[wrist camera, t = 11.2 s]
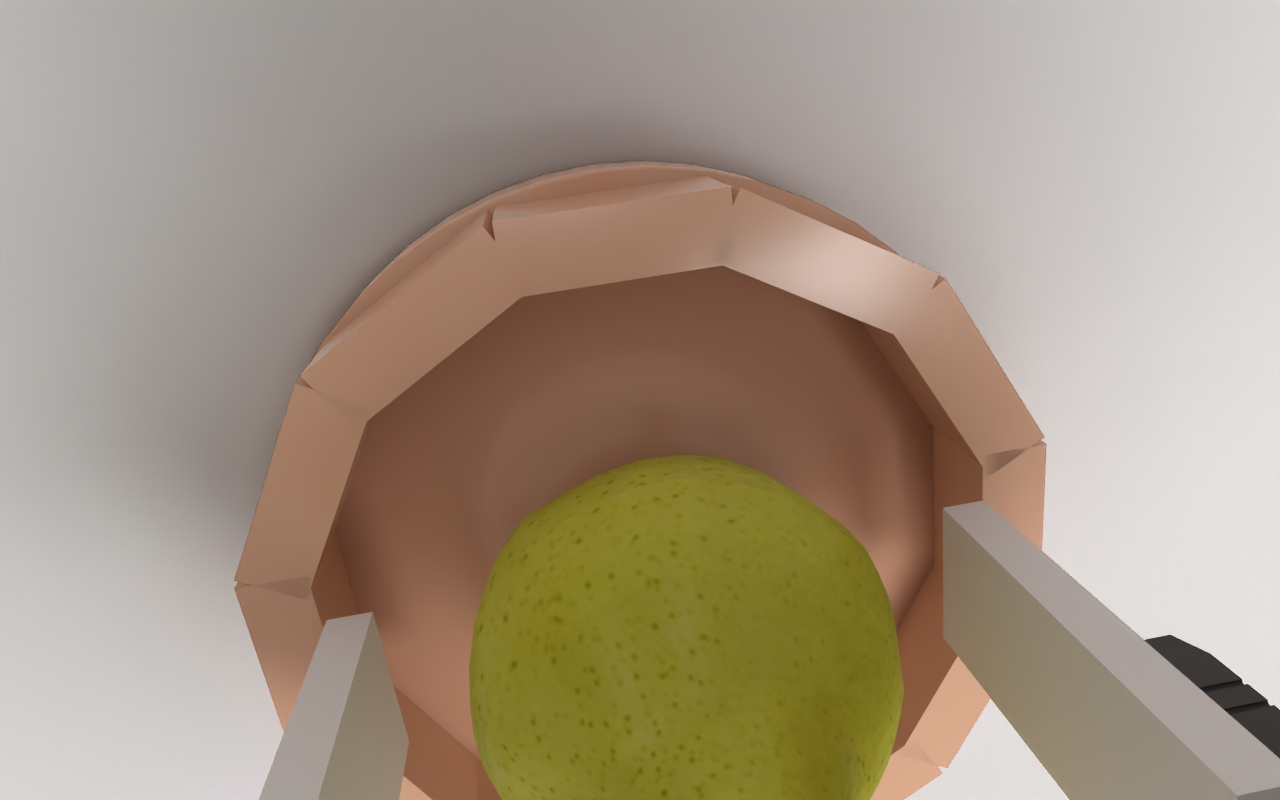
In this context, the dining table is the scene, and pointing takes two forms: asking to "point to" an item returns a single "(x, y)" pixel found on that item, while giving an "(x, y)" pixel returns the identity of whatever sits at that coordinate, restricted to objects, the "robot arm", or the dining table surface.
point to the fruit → (684, 644)
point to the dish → (625, 425)
